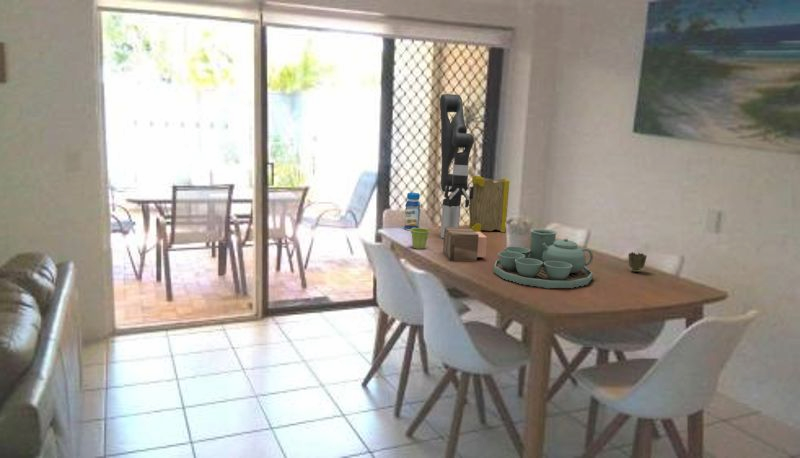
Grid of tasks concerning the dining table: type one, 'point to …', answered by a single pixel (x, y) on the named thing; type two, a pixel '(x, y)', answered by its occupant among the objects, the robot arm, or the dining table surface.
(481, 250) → the salmon pink block
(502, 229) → the decorative book
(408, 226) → the beverage bottle
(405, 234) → the dining table surface
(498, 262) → the tea set
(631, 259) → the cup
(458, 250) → the brown box with drawer
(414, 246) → the plant pot
